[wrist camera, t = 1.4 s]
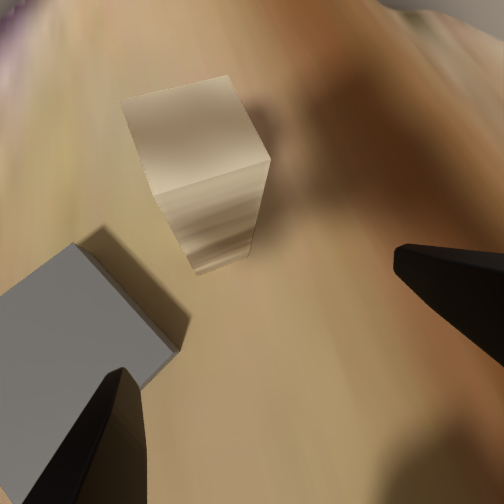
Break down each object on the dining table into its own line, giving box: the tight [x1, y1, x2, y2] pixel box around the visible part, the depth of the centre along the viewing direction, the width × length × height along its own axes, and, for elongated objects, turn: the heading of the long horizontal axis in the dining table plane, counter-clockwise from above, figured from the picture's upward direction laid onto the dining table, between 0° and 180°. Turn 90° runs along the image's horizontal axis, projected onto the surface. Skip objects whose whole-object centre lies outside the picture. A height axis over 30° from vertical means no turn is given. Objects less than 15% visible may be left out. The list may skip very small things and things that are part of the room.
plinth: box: [0, 243, 180, 504], centre depth 18 cm, size 11×11×2 cm
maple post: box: [119, 75, 271, 277], centre depth 16 cm, size 5×5×13 cm
